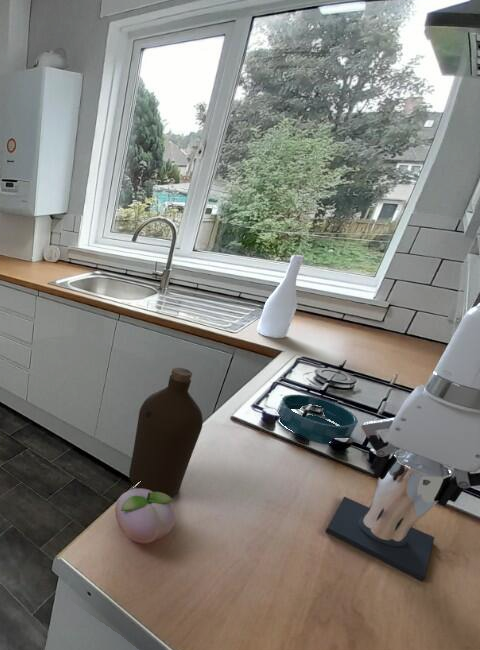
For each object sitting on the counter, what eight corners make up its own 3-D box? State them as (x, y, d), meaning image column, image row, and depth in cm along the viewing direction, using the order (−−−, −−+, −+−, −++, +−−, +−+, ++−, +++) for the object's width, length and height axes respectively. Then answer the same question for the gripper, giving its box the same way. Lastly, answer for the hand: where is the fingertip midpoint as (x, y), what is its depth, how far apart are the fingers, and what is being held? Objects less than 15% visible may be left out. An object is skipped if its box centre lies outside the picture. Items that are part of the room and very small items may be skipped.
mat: (431, 541, 69) (434, 537, 69) (422, 581, 63) (425, 577, 62) (342, 500, 78) (344, 496, 78) (325, 531, 71) (327, 527, 71)
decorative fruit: (140, 511, 75) (150, 468, 71) (176, 546, 68) (190, 501, 64) (98, 526, 71) (107, 482, 67) (132, 565, 65) (144, 518, 60)
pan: (355, 430, 99) (363, 412, 97) (340, 453, 91) (349, 435, 89) (285, 405, 109) (292, 388, 107) (266, 424, 101) (273, 406, 99)
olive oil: (170, 510, 75) (204, 392, 65) (116, 481, 82) (139, 370, 71) (190, 482, 82) (224, 371, 71) (139, 457, 89) (163, 353, 78)
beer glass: (343, 515, 73) (379, 448, 67) (383, 517, 73) (423, 449, 67) (377, 548, 67) (421, 477, 61) (421, 550, 67) (469, 479, 60)
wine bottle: (250, 330, 160) (275, 253, 147) (269, 328, 162) (295, 252, 149) (272, 339, 151) (301, 258, 139) (292, 337, 154) (321, 257, 141)
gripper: (564, 408, 54) (491, 508, 62) (387, 363, 67) (344, 451, 74) (568, 429, 50) (489, 533, 57) (378, 376, 62) (333, 468, 70)
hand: (408, 486), depth 66 cm, fingers closed on beer glass, 7 cm apart
